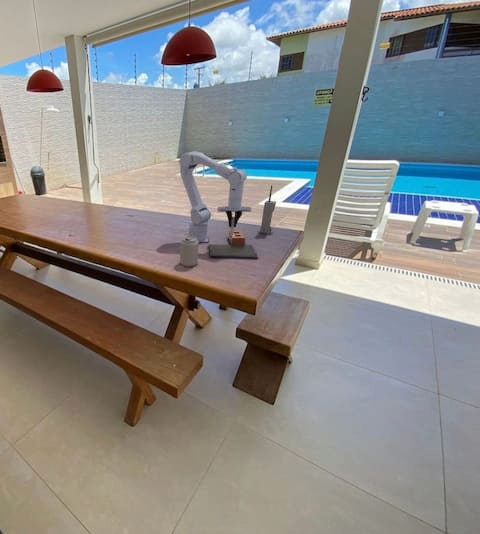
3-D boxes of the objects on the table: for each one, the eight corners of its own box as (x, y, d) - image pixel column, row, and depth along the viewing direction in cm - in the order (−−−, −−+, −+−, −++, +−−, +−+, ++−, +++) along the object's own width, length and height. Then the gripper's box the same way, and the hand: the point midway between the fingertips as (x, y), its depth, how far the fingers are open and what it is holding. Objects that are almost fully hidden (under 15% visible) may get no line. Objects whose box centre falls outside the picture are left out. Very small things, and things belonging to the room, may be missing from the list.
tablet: (210, 257, 139) (210, 255, 139) (208, 246, 152) (208, 244, 151) (257, 258, 136) (257, 256, 135) (251, 247, 148) (251, 244, 147)
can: (177, 260, 138) (178, 235, 133) (194, 259, 139) (195, 234, 133) (182, 267, 132) (183, 241, 126) (199, 266, 132) (201, 240, 127)
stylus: (229, 237, 147) (231, 217, 142) (229, 236, 148) (231, 216, 144) (233, 237, 146) (235, 217, 142) (232, 236, 148) (234, 216, 144)
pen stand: (231, 245, 151) (232, 237, 149) (228, 237, 160) (229, 230, 159) (244, 245, 150) (245, 237, 148) (240, 238, 159) (241, 230, 158)
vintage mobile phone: (270, 234, 162) (278, 186, 151) (260, 233, 164) (267, 185, 153) (271, 232, 164) (279, 184, 154) (261, 231, 167) (268, 184, 156)
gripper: (219, 200, 137) (217, 229, 143) (254, 199, 134) (250, 229, 140) (217, 196, 143) (215, 224, 149) (250, 196, 140) (247, 224, 146)
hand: (232, 226), depth 145 cm, fingers closed on stylus, 1 cm apart
